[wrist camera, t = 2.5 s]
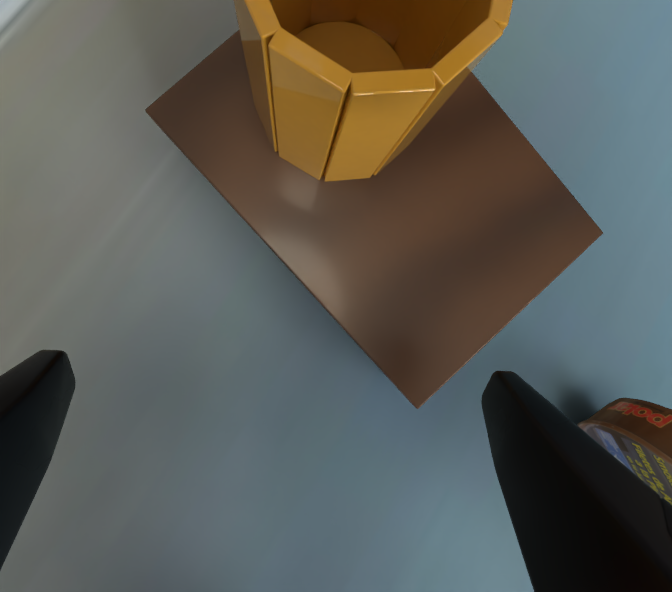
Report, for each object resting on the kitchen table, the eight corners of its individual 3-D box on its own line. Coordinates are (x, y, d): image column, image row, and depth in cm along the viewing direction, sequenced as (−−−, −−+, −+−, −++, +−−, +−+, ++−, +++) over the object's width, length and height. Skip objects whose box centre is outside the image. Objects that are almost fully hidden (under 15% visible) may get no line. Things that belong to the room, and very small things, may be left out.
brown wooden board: (546, 242, 23) (604, 232, 19) (394, 386, 22) (418, 410, 18) (343, -2, 21) (355, -71, 17) (173, 144, 21) (144, 109, 17)
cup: (450, 107, 18) (579, -36, 10) (331, 215, 17) (365, 157, 9) (346, -18, 17) (394, -276, 9) (220, 90, 17) (158, -83, 9)
